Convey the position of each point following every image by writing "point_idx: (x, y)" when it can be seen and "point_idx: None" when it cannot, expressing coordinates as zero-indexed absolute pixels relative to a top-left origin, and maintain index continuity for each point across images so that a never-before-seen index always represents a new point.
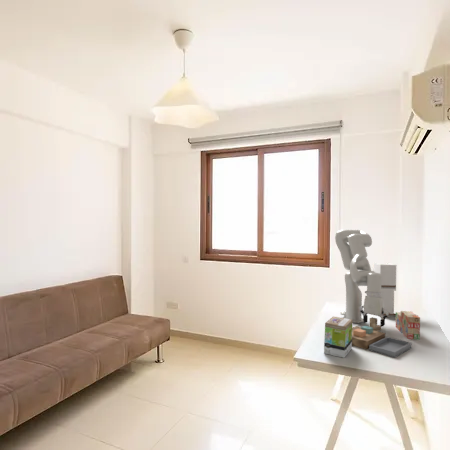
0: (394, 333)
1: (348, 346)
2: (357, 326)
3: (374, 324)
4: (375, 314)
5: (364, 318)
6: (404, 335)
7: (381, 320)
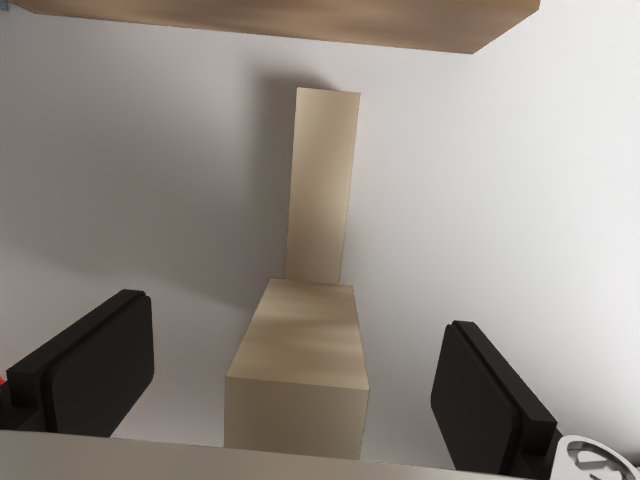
0: None
1: None
2: None
3: (262, 310)
4: (48, 456)
5: (498, 370)
6: None
7: (32, 357)
